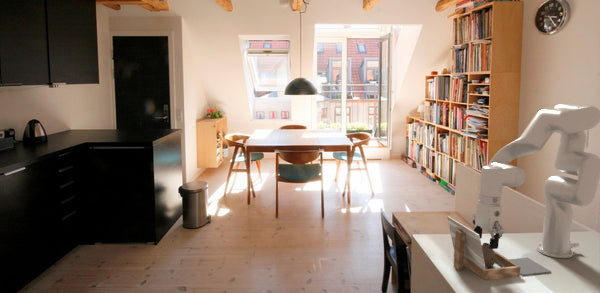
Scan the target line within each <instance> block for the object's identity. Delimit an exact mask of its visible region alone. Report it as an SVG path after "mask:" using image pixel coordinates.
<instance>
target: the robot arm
mask: <svg viewBox="0 0 600 293" xmlns="http://www.w3.org/2000/svg"><path fill="white" fill-rule="evenodd" d="M599 123H600V109H599V108H598V107H596V106H594V105H588V104H576V103H575V104H574V103H559V104H556V105H555V106H554V107H553V108H543V109H539V110H538V112H537V113H535V115H534V117H533V118H532V120H531V121H530V122H529V123H528V124H527V126H526V128H525V129H524V131H523V132H522V133H521V135H520V136H519V138H517V139H515V140H513V141H511V142H510V143H508V144H506V145H505V146H503V147H502V148H500V149H499V150H498V151H497V152H496V153H495V154H494V156H492V158H491V159H490V161H489V163H488V164H487V165H483V166H482V167H481V168H480V169H481V170H480V179H479V180H480V181H479V189H478V199H477V204H476V208H475V214H472V215H471V217H472V224H473V231H474V232H476V233H477V234H479V235H480V240H481V239H482V237H483V229H484V231H486V232H488V233H489V234H490V239H489V244H490V246H489V248H490V249H493V250H497V249H498V248H499V241H500V239H501V238H502V237H503V234H504V233H505V230H504V228H503V227H502V226H503V210H502V209H503V208H502V205H501V201H502V193H503V192H502V191H503V187H511V188H513V187H514V188H515V187H520V186H522V184H523V185H524V183H525V181H526V178H527V175H526V172H525V170H524V169H522V168H520V167H519V166H515V165H512V164H509V163H511V162H512V161H514V160H515V159H517V158H519V157H524V156H528V155H532V154H536V153H539V152H541V151H542V149H543V148H544V147H545V145H546V143H547V142H548V141H549V139H550V138H551V136H552V135H553V134H554V133H558V134H560V138H559V144H558V148H557V151H556V156H555V160H554V168H555V169H556V171H558V172H562V173H564V174H568V175H571V176H575V177H577V179H575V178H571V177H568V176H564V175H559V174H558V175H551V176H549V177H548V178H547V179H545V182H544V186H543V191H544V197H545V198H544V200H545V206H544V217H543V225H542V226H543V227H542V236H541V243H539V244H537V245H536V250H537V251H538V252H539V253H540V254H542V255H545V256H548V257H552V258H557V259H570V258H572V257H574V251H572V249H573V248H579V246H580V244H579V242H576V241H575V242H572V241H571V232H572V223H573V215H574V213H573V212H574V211H573V207H572V206H573V205H574V206H577V207H582V208H583V207H584V208H585V207H589V206H590V205H591V204H592V203H593V202H594V199H595V197H596V194H597V190H598V187H599V182H600V157H599V156H598V155H597V154H596V153H592V152H587V151H585V148H586V143H587V134H586V132H585V131H587V130H588V131H589V130H591V129H593V128H595V127H597V126H598V125H599ZM494 233H495V234H494Z"/></svg>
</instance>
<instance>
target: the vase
mask: <svg viewBox="0 0 600 293" xmlns="http://www.w3.org/2000/svg"><path fill="white" fill-rule="evenodd" d="M481 245H482V251H483V256H484V262H485V267H486V269H491V268H492V267H493V266H494V265H495V263H496V262H495V260H496V255H495V252H494V251H495V249H490V248H489V246H490V242H483V243H482V244H481Z"/></svg>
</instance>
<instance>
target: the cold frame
mask: <svg viewBox="0 0 600 293" xmlns="http://www.w3.org/2000/svg"><path fill="white" fill-rule="evenodd" d="M446 217H447V218H446V219H447V222H448V227H449V232H450V236H451V241H452V247H453V268H454V269H456V270H457V271H463V270H464V266H465V267H467V268H468V269H470V270H471V271H472V272H473V273H475V274H476V275H478V276H479V277H480V278H481V279H483V280H484V281H488V280H489V281H490V280H498V279H507V278H508V279H509V278H514V277H520V276H521V275H520V268H521V267H520V266H518V265H517V264H515V263H513V262H512V261H510V260H509V258H507V257H505V256H504V255H502V254H501V253H499V252H498V251H495V250H494V252H495V255H496V260H495V263H497V264H498V265H499V266H501V267H495V268H486V267H485V262H484V256H483V251H482V245H483V244H482V242H481V241H482V240H481V239H480V235H479V234H477V233H476V232H474V230H472V229H471V228H469V227H467V226H466V225H464V224H462V223H461V222H460V221H457V220H456V219H454V218H453V217H451V216H449V215H448V216H446Z"/></svg>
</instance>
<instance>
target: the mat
mask: <svg viewBox="0 0 600 293" xmlns="http://www.w3.org/2000/svg"><path fill="white" fill-rule="evenodd" d="M508 259H509V258H508ZM509 260H510V261H512V262H513V263H515V264H517V265H518V266H520V267H521V268H520V276H522V277H524V276H532V275H540V274H541V275H542V274H551V273H552V270H550V269H549V268H546V267H545V266H543V265H541V264H539V263H538V262H536V261H534V260H533V259H531V258H529V257H520V258H518V257H517V258H511V259H509Z"/></svg>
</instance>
